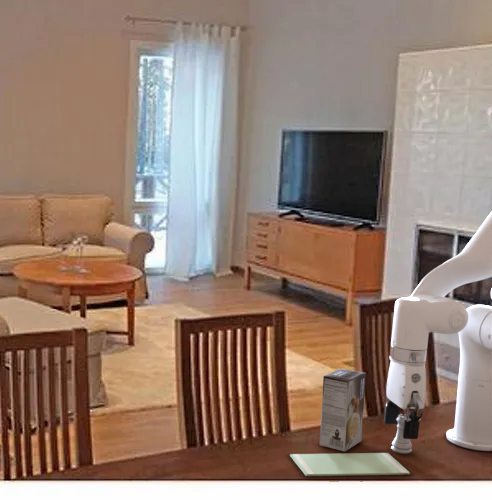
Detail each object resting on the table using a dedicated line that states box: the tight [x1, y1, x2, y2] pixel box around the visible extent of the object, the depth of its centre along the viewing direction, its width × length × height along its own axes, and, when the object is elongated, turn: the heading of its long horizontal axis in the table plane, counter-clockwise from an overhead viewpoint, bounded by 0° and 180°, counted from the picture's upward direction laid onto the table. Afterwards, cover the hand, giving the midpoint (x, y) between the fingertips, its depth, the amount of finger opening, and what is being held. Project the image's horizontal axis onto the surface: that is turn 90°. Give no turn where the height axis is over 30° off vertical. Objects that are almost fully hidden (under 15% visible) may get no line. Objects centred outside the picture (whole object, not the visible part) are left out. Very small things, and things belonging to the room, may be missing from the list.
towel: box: [289, 452, 411, 477], centre depth 176 cm, size 22×11×1 cm, turn 97°
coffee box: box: [319, 368, 367, 453], centre depth 188 cm, size 9×6×16 cm
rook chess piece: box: [390, 413, 413, 455], centre depth 185 cm, size 4×4×8 cm
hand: (400, 430), depth 185 cm, fingers open, 9 cm apart
